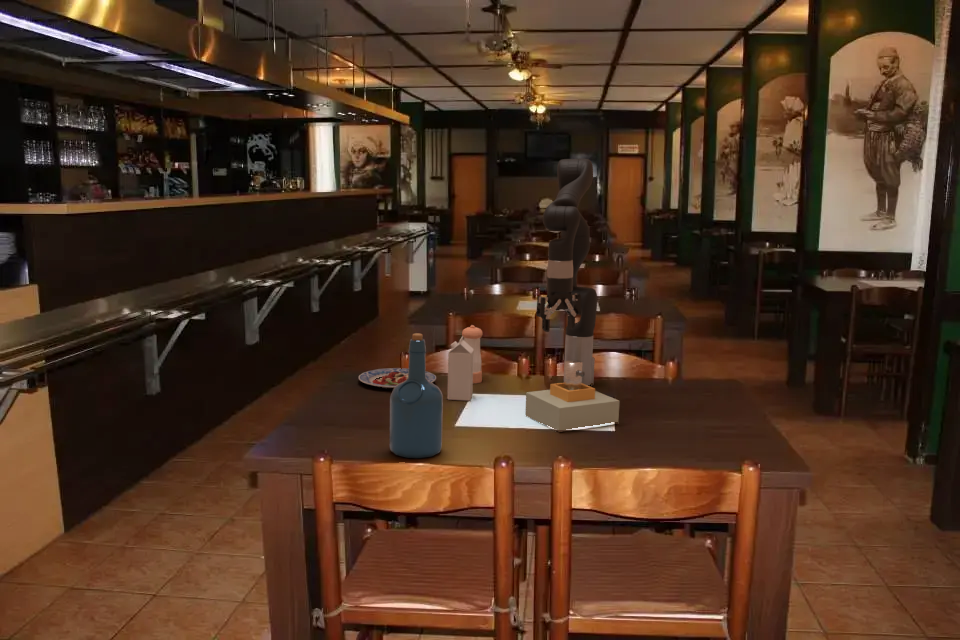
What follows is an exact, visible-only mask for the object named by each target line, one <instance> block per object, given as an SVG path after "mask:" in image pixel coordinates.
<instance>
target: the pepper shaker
mask: <svg viewBox="0 0 960 640" xmlns="http://www.w3.org/2000/svg"><path fill="white" fill-rule="evenodd" d="M483 333H484V332H483V330H482V329H481V328H479V327H476V326H475V325H473V324H471V325H470V326H468V327H466V328H464V329H462V331H461V334H462V335H461V337H462V336H463V340H464V341H465V342H466V343H467V344H468V345H470V346H471V347H472V348H473V349H474V353H473V384H480V383H482V382H483V381H482V380H483V371H482V355H481V338H483V335H484V334H483Z"/></svg>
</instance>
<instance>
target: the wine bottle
mask: <svg viewBox="0 0 960 640" xmlns="http://www.w3.org/2000/svg"><path fill="white" fill-rule="evenodd" d="M411 336H412V337H411V339H410V340H409V345H408V352H407V353H408V368H407V369H408V378H407V380H406V381H404V382H402V383H399V384H398V385H397V386H396V387H395V388H394V389H392V392H391V394H390V396H389V449H390V451H391V452H392V453H393V454H394V455H395V456H399V457H403V458H407V459H424V458H430V457H433V456H435V455H438V454H440V452H441V450H442V446H443V409H444V406H443V405H444V404H443V403H444V402H443V401H444V400H443V399H444V394H443V392H442V390H441V388H440V387H439V386H438V385H436V384H434V382H432V383H431V382H429V381H428V380H427V379H426V372H427V371H426V353H427V348H426V340H425V338H423V337H424V336H423V334H422V333H417V332H415V333H412V335H411Z"/></svg>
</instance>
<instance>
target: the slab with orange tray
mask: <svg viewBox="0 0 960 640" xmlns="http://www.w3.org/2000/svg"><path fill="white" fill-rule="evenodd" d="M524 412H525V415H526V416H525V415H524V416H525V417H527V416H528V418H529V417H530V419H531V418H532V419H531V420H533V419H534V421H535V420H536V421H535V422H537V421H538V422H537V423H539V422H540V423H539V424H541V423H543V424H545V425H548V426H550V427H552V428H554V429H557V430H566V429H572V428H578V427H585V426H593V425H600V424H605V423H611V422H618V423H619V419H620V418H619V416H620V415H619V413H620V400H618V399H616V398H613V397H611V396H609V395H606V394H604V393H601V392H599V391H597V390H596V388H595V387H592V386H588V385H585V384H583V383H582V386H581V389H578V390H567V389H564V382H557V383H556V382H555V383H550V387H549V389H546V390H545V389H543V390H535V391H528V392H527V391H526V392H525V411H524ZM543 424H542V425H543ZM545 425H544V426H545Z"/></svg>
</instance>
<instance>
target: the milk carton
mask: <svg viewBox="0 0 960 640" xmlns="http://www.w3.org/2000/svg"><path fill="white" fill-rule="evenodd" d="M450 347H451V348H450V350H449V352H448V353H447V354H448V359H447V400H450V401H452V400H453V401H471V399H472V397H473V387H474V385H473V384H474V383H473V353H474V349H473V348H472V347H471V346H470V345H468V344H467V343H466V342H465V341H464V337H463V336H462V335H461V338H460V339H459V341H458V342H457V341H456V340H455V341H454V342H452V343H451V344H450Z"/></svg>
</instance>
